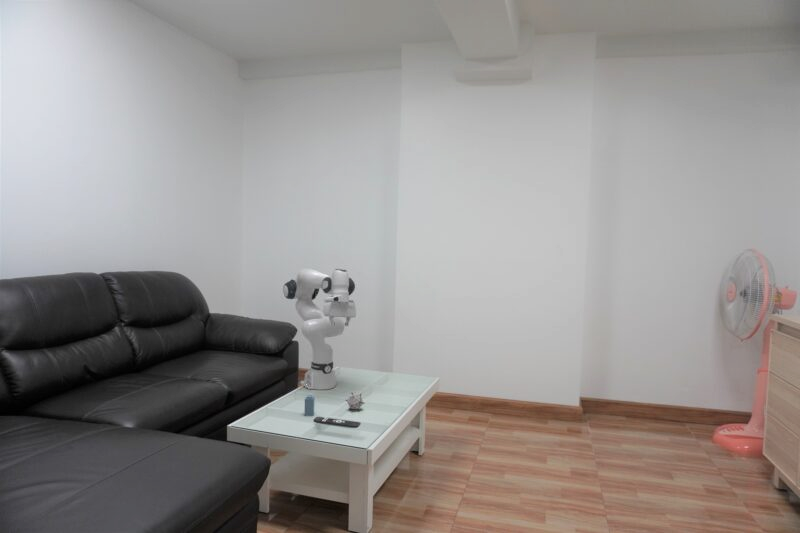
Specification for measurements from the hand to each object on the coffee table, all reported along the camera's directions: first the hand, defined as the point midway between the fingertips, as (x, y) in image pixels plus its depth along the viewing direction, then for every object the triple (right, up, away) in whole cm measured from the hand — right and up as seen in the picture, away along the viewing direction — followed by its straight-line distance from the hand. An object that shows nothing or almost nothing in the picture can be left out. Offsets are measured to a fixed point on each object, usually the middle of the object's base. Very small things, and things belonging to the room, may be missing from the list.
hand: (339, 325), depth 286 cm
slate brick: (-12, -39, -26) cm, 48 cm away
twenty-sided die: (+9, -40, -17) cm, 44 cm away
